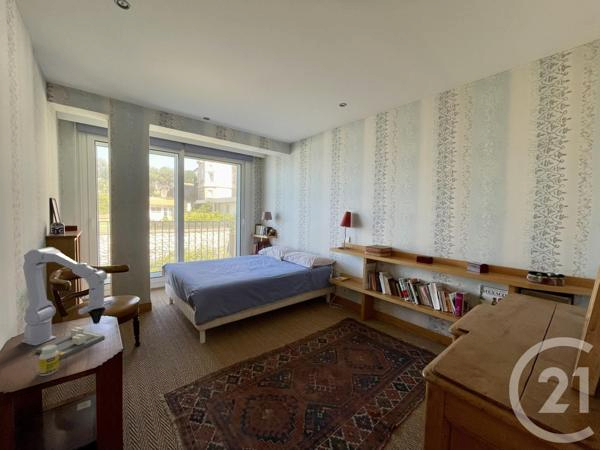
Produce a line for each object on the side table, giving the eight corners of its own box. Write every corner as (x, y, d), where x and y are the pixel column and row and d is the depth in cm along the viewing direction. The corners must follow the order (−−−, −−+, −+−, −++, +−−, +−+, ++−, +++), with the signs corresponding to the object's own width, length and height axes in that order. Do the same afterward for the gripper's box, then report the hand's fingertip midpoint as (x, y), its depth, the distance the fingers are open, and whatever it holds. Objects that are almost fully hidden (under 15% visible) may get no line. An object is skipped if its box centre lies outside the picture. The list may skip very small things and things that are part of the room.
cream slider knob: (70, 335, 118) (70, 328, 118) (77, 332, 121) (77, 326, 121) (76, 337, 117) (76, 330, 117) (83, 334, 120) (83, 327, 120)
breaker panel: (36, 352, 107) (36, 348, 107) (81, 333, 125) (81, 330, 124) (61, 359, 103) (61, 355, 103) (104, 338, 121) (104, 335, 121)
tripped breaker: (71, 343, 112) (72, 336, 112) (79, 340, 115) (79, 333, 115) (78, 345, 111) (78, 337, 111) (85, 341, 114) (85, 334, 114)
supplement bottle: (45, 377, 92) (46, 352, 92) (34, 374, 93) (35, 349, 93) (62, 368, 98) (62, 344, 97) (51, 366, 99) (52, 342, 98)
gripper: (86, 302, 111) (86, 331, 112) (117, 292, 125) (117, 318, 126) (75, 299, 113) (74, 328, 114) (106, 290, 127) (106, 316, 128)
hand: (96, 323), depth 120 cm, fingers closed
